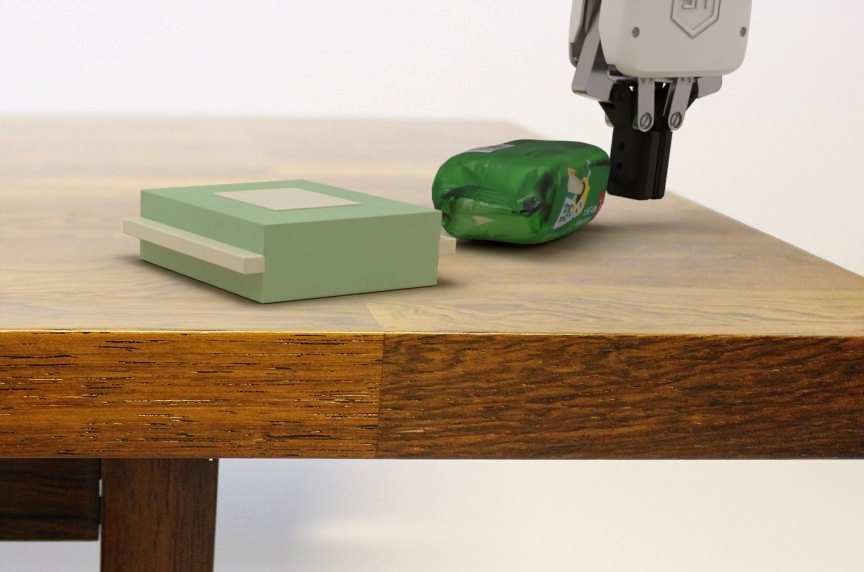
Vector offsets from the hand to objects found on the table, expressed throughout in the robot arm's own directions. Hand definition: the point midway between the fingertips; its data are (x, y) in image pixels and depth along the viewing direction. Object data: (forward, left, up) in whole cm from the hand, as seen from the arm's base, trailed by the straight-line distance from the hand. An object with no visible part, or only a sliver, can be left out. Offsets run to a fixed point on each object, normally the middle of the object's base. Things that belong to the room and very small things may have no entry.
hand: (634, 196), depth 89 cm
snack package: (+9, 0, -2) cm, 9 cm away
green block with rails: (+27, +3, -2) cm, 27 cm away
